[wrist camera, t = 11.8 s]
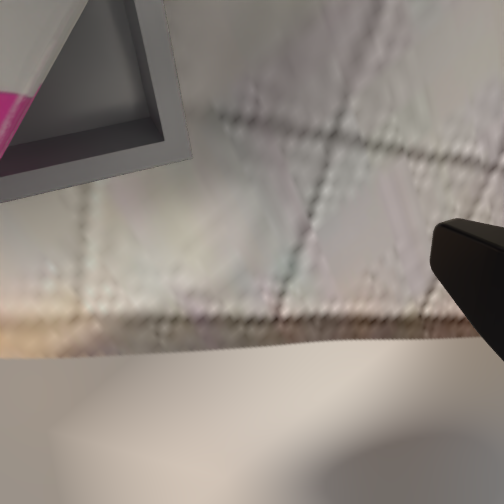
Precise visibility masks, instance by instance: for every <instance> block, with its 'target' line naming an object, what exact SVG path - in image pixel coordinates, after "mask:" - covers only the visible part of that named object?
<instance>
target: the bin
mask: <svg viewBox="0 0 504 504" xmlns="http://www.w3.org/2000/svg"><path fill="white" fill-rule="evenodd" d="M192 158H193V156H192V151H191V146H190V140H189V135H188V130H187V124H186V119H185V114H184V108H183V103H182V98H181V92H180V87H179V82H178V76H177V71H176V66H175V61H174V55H173V50H172V45H171V39H170V34H169V29H168V23H167V18H166V13H165V7H164V2H163V0H88V2H87V4H86V6H85V8H84V10H83V11H82V13H81V15H80V17H79V19H78V20H77V22H76V24H75V26H74V27H73V29H72V31H71V33H70V35H69V36H68V38H67V40H66V42H65V44H64V45H63V47H62V49H61V51H60V53H59V54H58V56H57V58H56V60H55V62H54V63H53V65H52V67H51V69H50V71H49V72H48V74H47V76H46V78H45V80H44V82H43V83H42V85H41V87H40V89H39V91H38V93H37V94H36V96H35V98H34V100H33V102H32V103H31V105H30V107H29V109H28V111H27V113H26V114H25V116H24V118H23V120H22V122H21V124H20V125H19V127H18V129H17V131H16V133H15V134H14V136H13V138H12V140H11V142H10V143H9V145H8V147H7V149H6V150H5V152H4V154H3V156H2V158H1V159H0V203H4V202H8V201H12V200H16V199H21V198H25V197H29V196H34V195H38V194H42V193H46V192H51V191H55V190H59V189H64V188H68V187H72V186H76V185H81V184H85V183H89V182H94V181H98V180H102V179H106V178H111V177H115V176H119V175H124V174H128V173H132V172H136V171H141V170H145V169H149V168H154V167H158V166H162V165H167V164H171V163H175V162H179V161H184V160H188V159H192Z"/></svg>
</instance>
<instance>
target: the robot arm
mask: <svg viewBox="0 0 504 504" xmlns="http://www.w3.org/2000/svg"><path fill="white" fill-rule="evenodd" d="M430 266H431V269H432V271H433V273H434V274H435V276H436V277H437V278H438V280H439V281H440V282H441V284H442V285H443V286H444V288H445V289H446V290H447V292H448V293H449V295H450V296H451V297H452V299H453V300H454V301H455V303H456V304H457V305H458V307H459V308H460V309H461V311H462V312H463V313H464V315H465V316H466V317H467V319H468V320H469V321H470V323H471V324H472V325H473V327H474V328H475V329H476V331H477V332H478V333H479V334H480V335H481V337H482V338H483V339H484V340H485V341H486V342H487V344H488V345H489V346H490V347H491V348H492V349H493V350H494V351H495V352H496V353H497V355H498V356H499V357H500V358H501V359H502V360H503V361H504V227H499V226H494V225H489V224H484V223H480V222H475V221H470V220H465V219H460V218H455V219H451V220H448V221H444V222H441V223H439V224H437V225H436V227H435V228H434V231H433V238H432V246H431V254H430Z"/></svg>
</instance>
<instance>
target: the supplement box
mask: <svg viewBox="0 0 504 504" xmlns="http://www.w3.org/2000/svg"><path fill="white" fill-rule="evenodd" d="M87 2H88V0H0V159H1V158H2V156H3V154H4V152H5V150H6V149H7V147H8V145H9V143H10V142H11V140H12V138H13V136H14V134H15V133H16V131H17V129H18V127H19V125H20V124H21V122H22V120H23V118H24V116H25V114H26V113H27V111H28V109H29V107H30V105H31V103H32V102H33V100H34V98H35V96H36V94H37V93H38V91H39V89H40V87H41V85H42V83H43V82H44V80H45V78H46V76H47V74H48V72H49V71H50V69H51V67H52V65H53V63H54V62H55V60H56V58H57V56H58V54H59V53H60V51H61V49H62V47H63V45H64V44H65V42H66V40H67V38H68V36H69V35H70V33H71V31H72V29H73V27H74V26H75V24H76V22H77V20H78V19H79V17H80V15H81V13H82V11H83V10H84V8H85V6H86V4H87Z"/></svg>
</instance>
